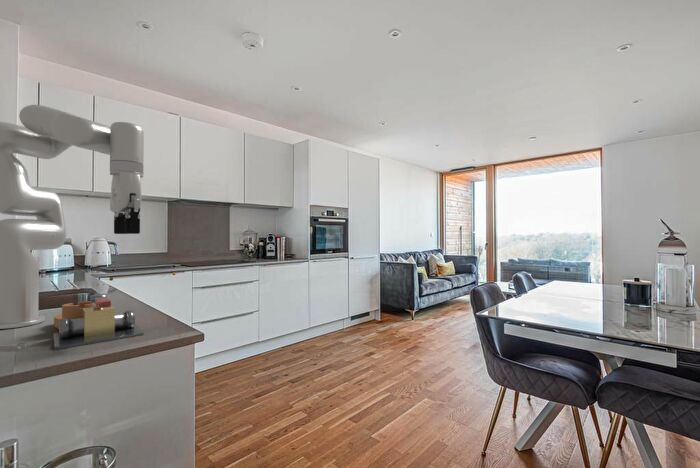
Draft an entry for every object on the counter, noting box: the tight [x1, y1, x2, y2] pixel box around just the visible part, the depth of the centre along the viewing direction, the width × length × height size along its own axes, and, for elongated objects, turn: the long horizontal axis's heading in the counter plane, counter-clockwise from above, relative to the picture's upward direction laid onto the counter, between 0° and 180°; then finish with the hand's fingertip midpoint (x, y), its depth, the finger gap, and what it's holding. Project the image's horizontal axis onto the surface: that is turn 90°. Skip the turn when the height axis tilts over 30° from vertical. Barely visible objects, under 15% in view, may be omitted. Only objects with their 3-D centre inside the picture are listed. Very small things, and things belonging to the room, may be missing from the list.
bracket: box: [53, 300, 93, 330], centre depth 97 cm, size 18×8×7 cm, turn 51°
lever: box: [89, 293, 112, 308], centre depth 86 cm, size 14×4×2 cm, turn 43°
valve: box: [53, 302, 145, 351], centre depth 89 cm, size 15×18×9 cm
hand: (126, 233), depth 89 cm, fingers open, 9 cm apart
